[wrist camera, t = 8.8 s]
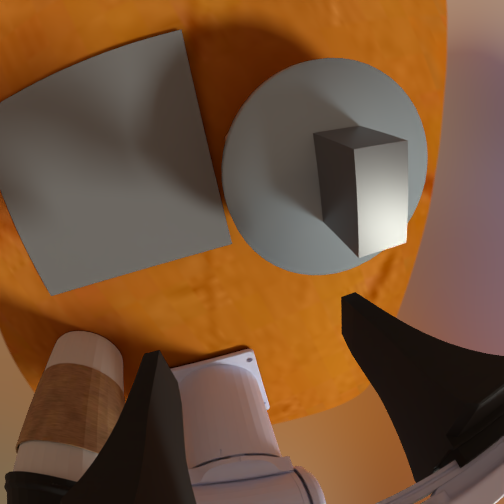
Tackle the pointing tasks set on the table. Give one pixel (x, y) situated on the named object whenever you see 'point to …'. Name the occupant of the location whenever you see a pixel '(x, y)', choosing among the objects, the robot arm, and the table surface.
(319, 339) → the table surface
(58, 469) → the coffee cup
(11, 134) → the mat
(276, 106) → the lid
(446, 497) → the robot arm
